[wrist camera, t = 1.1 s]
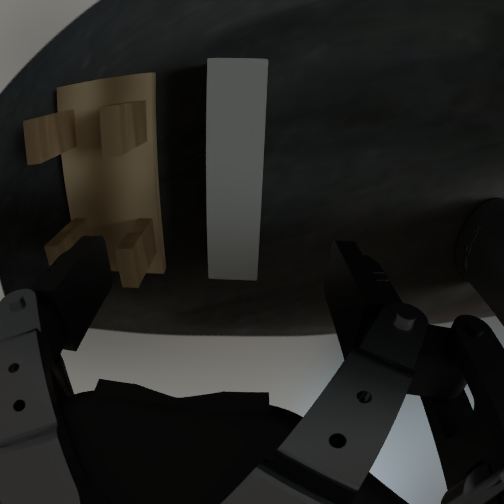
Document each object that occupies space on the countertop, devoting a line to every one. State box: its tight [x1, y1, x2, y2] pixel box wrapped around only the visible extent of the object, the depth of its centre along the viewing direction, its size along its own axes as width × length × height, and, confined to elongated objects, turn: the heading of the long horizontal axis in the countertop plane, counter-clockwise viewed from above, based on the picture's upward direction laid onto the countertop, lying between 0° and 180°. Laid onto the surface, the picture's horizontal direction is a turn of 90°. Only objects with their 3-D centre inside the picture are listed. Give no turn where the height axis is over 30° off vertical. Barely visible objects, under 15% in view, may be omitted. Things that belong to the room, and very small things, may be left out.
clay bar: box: [206, 58, 268, 281], centre depth 21 cm, size 4×15×4 cm, turn 178°
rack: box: [23, 73, 166, 288], centre depth 21 cm, size 8×16×6 cm, turn 178°
